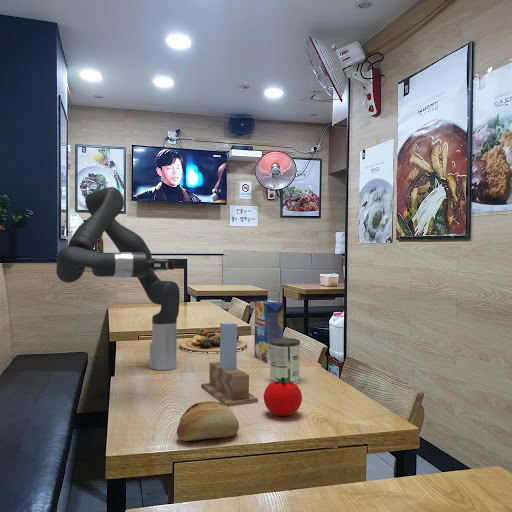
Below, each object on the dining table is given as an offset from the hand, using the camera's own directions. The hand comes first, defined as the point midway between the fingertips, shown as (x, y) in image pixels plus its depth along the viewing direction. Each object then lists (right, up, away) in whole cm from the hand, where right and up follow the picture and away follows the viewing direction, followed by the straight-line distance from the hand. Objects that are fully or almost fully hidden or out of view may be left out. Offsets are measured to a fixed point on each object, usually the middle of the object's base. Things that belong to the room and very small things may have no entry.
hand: (182, 264), depth 146 cm
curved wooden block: (+14, -40, -1) cm, 43 cm away
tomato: (+30, -40, -20) cm, 54 cm away
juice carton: (+28, -41, +49) cm, 70 cm away
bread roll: (+12, -40, -36) cm, 55 cm away
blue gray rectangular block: (+14, -32, -1) cm, 35 cm away
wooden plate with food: (+3, -41, +75) cm, 86 cm away
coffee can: (+33, -41, +15) cm, 54 cm away
